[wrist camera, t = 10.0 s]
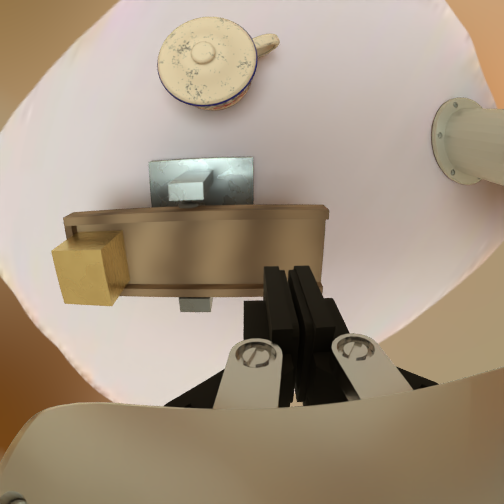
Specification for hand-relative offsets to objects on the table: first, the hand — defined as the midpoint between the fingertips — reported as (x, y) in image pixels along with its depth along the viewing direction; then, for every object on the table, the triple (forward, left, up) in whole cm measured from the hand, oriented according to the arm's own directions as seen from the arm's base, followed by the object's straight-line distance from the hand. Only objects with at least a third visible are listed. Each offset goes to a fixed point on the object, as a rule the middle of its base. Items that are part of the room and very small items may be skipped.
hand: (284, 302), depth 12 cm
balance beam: (+6, +4, -19) cm, 20 cm away
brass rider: (+15, +4, -16) cm, 22 cm away
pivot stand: (+6, +4, -27) cm, 28 cm away
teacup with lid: (+3, -14, -27) cm, 31 cm away
